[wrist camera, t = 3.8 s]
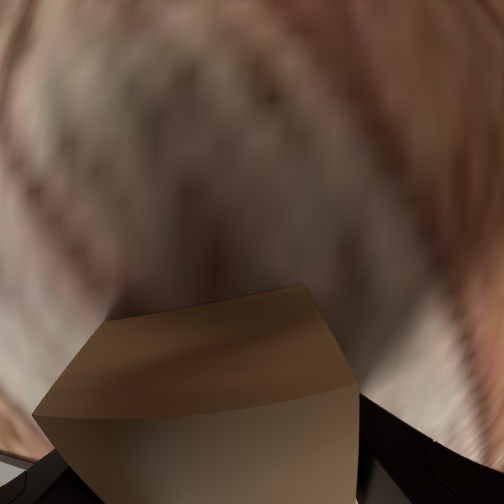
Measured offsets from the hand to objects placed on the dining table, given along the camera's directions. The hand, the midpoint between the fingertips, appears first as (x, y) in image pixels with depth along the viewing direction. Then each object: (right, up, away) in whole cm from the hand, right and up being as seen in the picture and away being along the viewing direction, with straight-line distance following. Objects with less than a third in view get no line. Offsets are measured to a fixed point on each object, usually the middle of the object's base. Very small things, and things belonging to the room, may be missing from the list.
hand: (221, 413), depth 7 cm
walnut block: (0, 0, +1) cm, 1 cm away
